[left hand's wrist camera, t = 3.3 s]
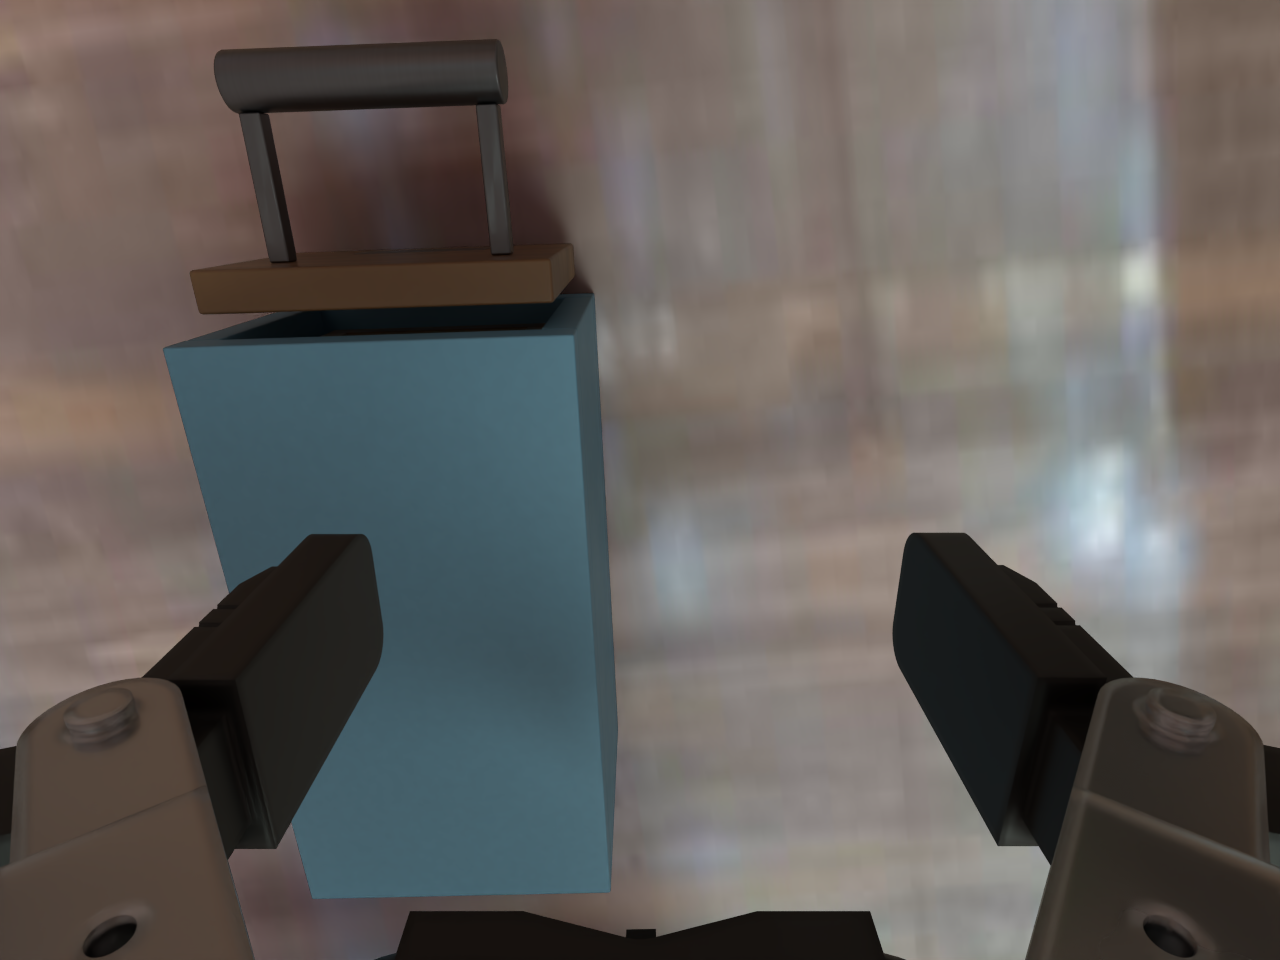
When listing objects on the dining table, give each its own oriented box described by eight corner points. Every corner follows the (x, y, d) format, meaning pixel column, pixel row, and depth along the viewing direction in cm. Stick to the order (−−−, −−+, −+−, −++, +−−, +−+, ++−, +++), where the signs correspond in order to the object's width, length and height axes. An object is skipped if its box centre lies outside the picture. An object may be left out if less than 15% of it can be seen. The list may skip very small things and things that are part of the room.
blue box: (304, 302, 28) (161, 347, 20) (594, 292, 28) (574, 334, 20) (389, 734, 36) (311, 899, 27) (618, 728, 35) (610, 893, 27)
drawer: (264, 78, 24) (128, 35, 18) (561, 67, 24) (532, 20, 18) (384, 692, 33) (322, 811, 27) (601, 686, 33) (591, 805, 27)
